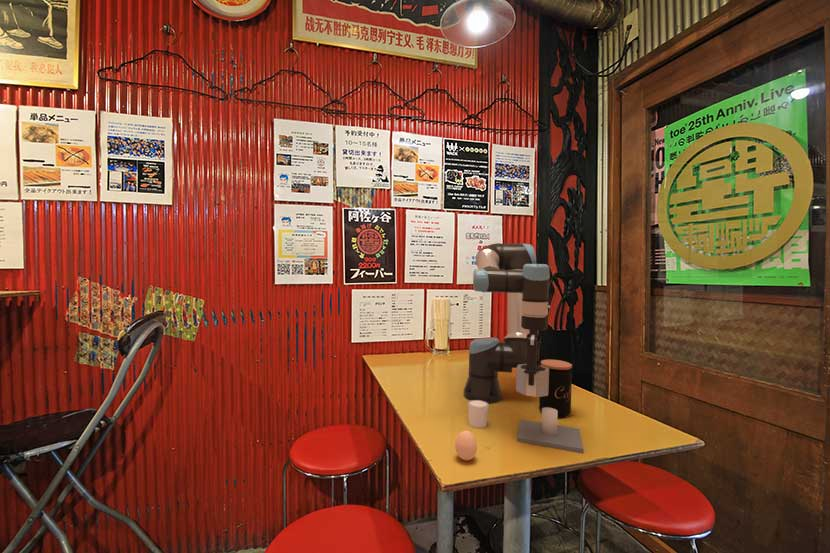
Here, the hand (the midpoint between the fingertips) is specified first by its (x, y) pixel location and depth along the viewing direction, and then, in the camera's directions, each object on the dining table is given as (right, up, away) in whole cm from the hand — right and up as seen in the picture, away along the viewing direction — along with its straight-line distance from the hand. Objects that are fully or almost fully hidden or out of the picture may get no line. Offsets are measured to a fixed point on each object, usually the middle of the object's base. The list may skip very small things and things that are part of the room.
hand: (532, 390), depth 106 cm
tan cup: (-15, -15, +11) cm, 23 cm away
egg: (-22, -15, -11) cm, 29 cm away
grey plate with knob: (+6, -15, +3) cm, 17 cm away
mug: (0, 0, 0) cm, 0 cm away
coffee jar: (+15, -15, +22) cm, 31 cm away
